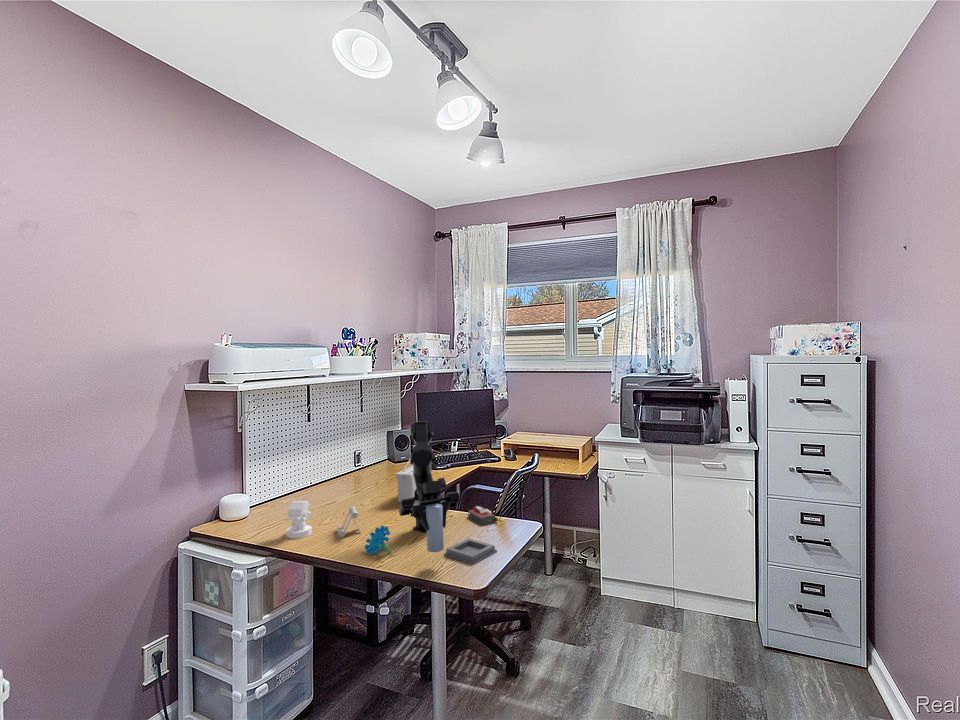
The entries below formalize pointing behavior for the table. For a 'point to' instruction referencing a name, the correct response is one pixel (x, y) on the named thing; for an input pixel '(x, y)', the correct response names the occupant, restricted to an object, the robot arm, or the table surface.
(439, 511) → the blue-grey rounded knob
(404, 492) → the stereo radio cassette player
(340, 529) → the portable electronic device stand
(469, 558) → the grey square recessed dock
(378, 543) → the gear
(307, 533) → the character figurine
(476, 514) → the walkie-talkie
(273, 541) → the table surface
